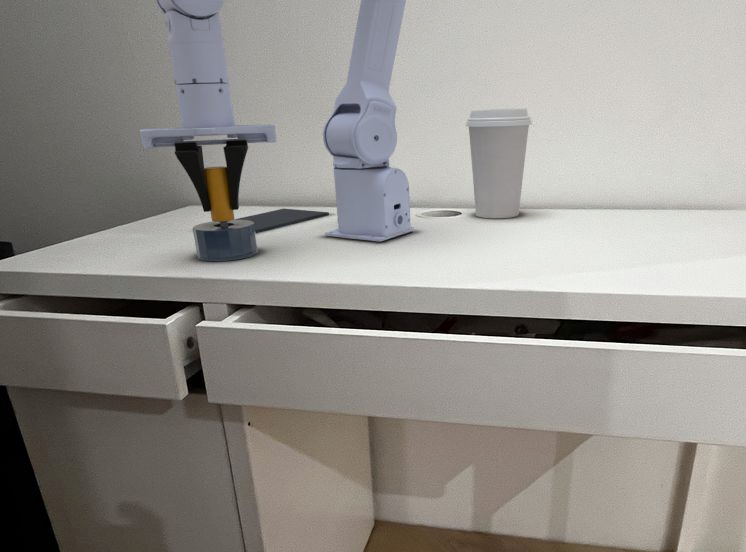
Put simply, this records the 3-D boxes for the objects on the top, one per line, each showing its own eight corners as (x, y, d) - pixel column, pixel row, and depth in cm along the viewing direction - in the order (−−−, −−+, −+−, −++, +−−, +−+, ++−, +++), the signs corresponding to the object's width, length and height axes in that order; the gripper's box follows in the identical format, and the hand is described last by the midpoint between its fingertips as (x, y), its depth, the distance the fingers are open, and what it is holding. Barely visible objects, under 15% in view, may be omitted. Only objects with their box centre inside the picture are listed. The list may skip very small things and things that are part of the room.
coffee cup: (509, 222, 89) (511, 109, 83) (453, 217, 94) (452, 111, 88) (540, 212, 96) (544, 107, 90) (486, 207, 101) (487, 109, 95)
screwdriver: (243, 250, 76) (231, 166, 72) (226, 254, 74) (214, 169, 70) (229, 248, 77) (216, 166, 73) (212, 252, 75) (198, 168, 71)
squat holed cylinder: (269, 251, 76) (266, 221, 75) (225, 264, 71) (220, 232, 70) (230, 246, 80) (226, 218, 79) (185, 257, 75) (180, 227, 73)
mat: (329, 214, 100) (328, 212, 100) (244, 235, 86) (243, 233, 86) (283, 210, 105) (283, 208, 105) (196, 230, 91) (196, 227, 91)
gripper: (124, 85, 63) (150, 219, 68) (269, 81, 66) (284, 210, 71) (138, 87, 70) (161, 209, 75) (270, 83, 72) (283, 201, 77)
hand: (221, 209), depth 73 cm, fingers closed on screwdriver, 2 cm apart
